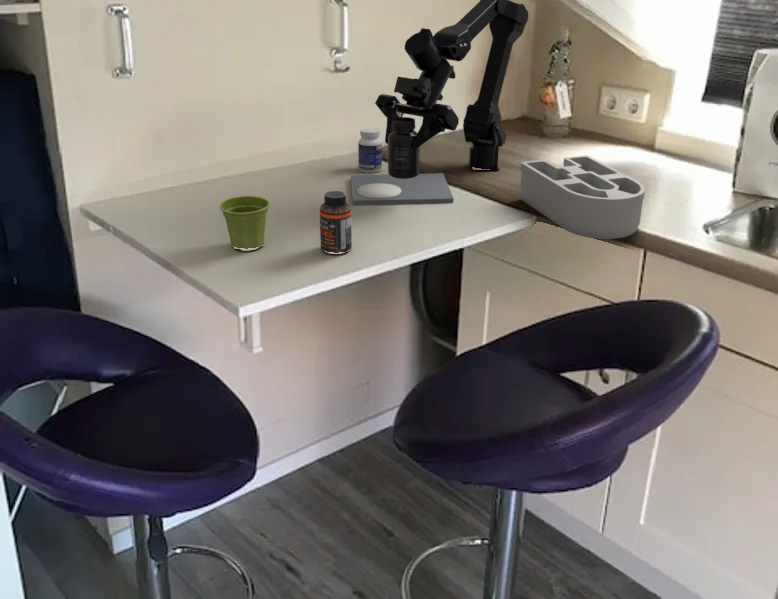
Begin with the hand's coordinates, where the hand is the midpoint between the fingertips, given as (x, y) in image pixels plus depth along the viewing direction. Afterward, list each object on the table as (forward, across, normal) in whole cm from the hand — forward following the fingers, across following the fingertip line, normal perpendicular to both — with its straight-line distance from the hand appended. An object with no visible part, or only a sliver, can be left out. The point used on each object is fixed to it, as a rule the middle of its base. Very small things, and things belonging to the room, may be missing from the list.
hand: (399, 145), depth 182 cm
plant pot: (+35, -9, -17) cm, 40 cm away
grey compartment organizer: (-3, +34, +23) cm, 42 cm away
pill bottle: (-1, -21, +21) cm, 30 cm away
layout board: (+4, -6, +15) cm, 16 cm away
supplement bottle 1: (+29, +6, -10) cm, 31 cm away
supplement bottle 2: (+4, 0, +6) cm, 7 cm away
